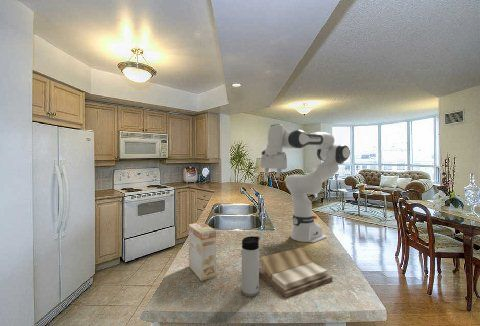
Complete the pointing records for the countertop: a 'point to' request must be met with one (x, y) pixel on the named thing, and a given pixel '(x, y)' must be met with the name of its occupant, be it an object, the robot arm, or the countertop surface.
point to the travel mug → (250, 266)
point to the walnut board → (295, 289)
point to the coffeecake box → (202, 250)
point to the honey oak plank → (284, 261)
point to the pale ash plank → (298, 275)
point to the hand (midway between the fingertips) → (272, 176)
